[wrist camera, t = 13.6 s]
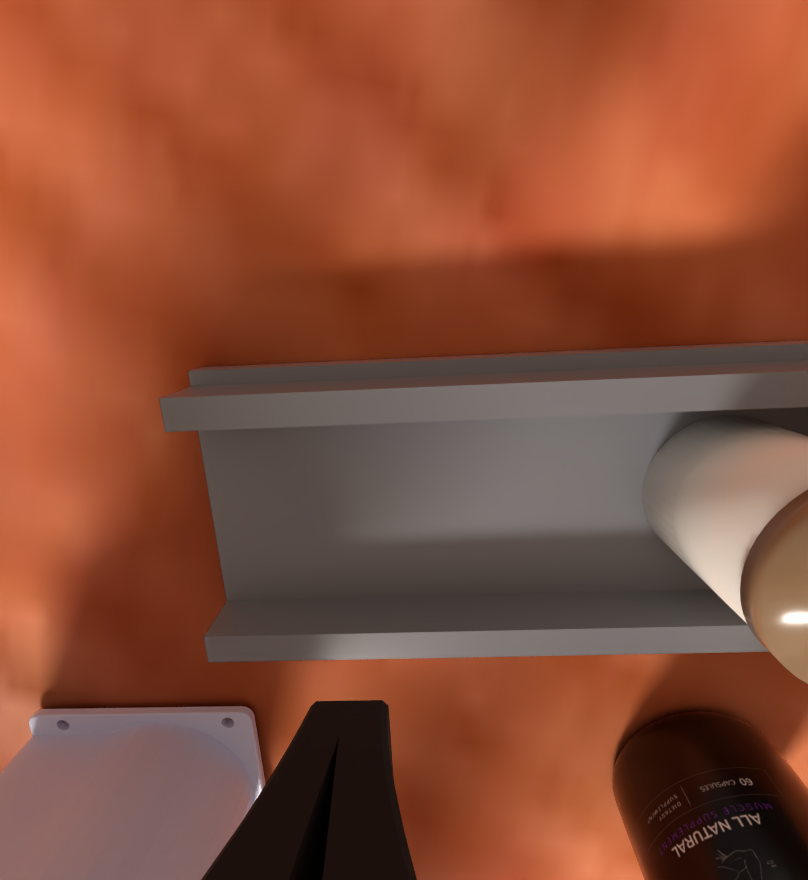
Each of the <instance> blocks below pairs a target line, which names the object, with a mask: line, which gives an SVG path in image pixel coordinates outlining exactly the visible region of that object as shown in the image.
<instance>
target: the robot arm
mask: <svg viewBox="0 0 808 880" xmlns="http://www.w3.org/2000/svg"><path fill="white" fill-rule="evenodd" d="M228 718H230V719H232V720H229V719H228ZM29 726H30V729H31V732H32V735H33V737H32V738H31V739H30V740H29V741H28V742H27V744H26V745H25V746H24V747H23V748H22V749H21V750H20V751H19V753H18V754H17V755H16V756H15V757H14V758H13V759H12V760H11V762H10V763H9V764H8V765H7V766H6V767H5V768H4V769H3V771H2V772H1V773H0V880H417V879H416V875H415V871H414V867H413V864H412V860H411V856H410V853H409V849H408V845H407V841H406V837H405V833H404V828H403V824H402V819H401V814H400V810H399V805H398V800H397V796H396V791H395V786H394V780H393V765H392V751H391V736H390V722H389V707H388V705H387V704H386V703H385V702H383V701H382V700H372V701H316V702H315V703H314V704H313V705H312V706H311V707H310V709H309V711H308V713H307V715H306V717H305V718H304V720H303V722H302V724H301V726H300V728H299V729H298V731H297V733H296V735H295V736H294V738H293V740H292V742H291V743H290V745H289V747H288V749H287V750H286V752H285V754H284V755H283V757H282V759H281V760H280V762H279V764H278V765H277V767H276V769H275V770H274V772H273V774H272V775H271V777H270V778H269V780H268V781H267V783H266V784H265V778H264V771H263V765H262V759H261V753H260V747H259V740H258V734H257V728H256V722H255V716H254V713H253V711H252V710H251V709H250V708H247V707H245V706H212V707H145V708H78V709H41V710H38V711H37V712H35V713H34V715H33V716H32V717H31V718H30V720H29Z"/></svg>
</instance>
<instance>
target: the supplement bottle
mask: <svg viewBox="0 0 808 880" xmlns="http://www.w3.org/2000/svg"><path fill="white" fill-rule="evenodd" d="M613 792H614V796H615V800H616V803H617V806H618V809H619V811H620V814H621V817H622V820H623V823H624V826H625V828H626V831H627V834H628V836H629V839H630V842H631V844H632V847H633V850H634V852H635V855H636V858H637V860H638V863H639V866H640V868H641V871H642V874H643V876H644V879H645V880H808V788H807V787H806V786H805V784H804V783H803V782H802V781H801V779H800V778H799V777H798V775H797V774H796V773H795V772H794V770H793V769H792V768H791V766H790V765H789V764H788V763H787V762H786V760H785V759H784V758H783V757H782V755H781V754H780V753H779V751H778V750H777V749H776V748H775V747H774V745H773V744H772V743H771V742H770V741H769V740H768V739H767V738H766V737H765V736H764V735H763V734H762V733H761V732H760V731H758V730H757V729H755V728H754V727H753V726H751V725H749V724H747V723H746V722H744V721H741V720H739V719H737V718H734V717H731V716H728V715H724V714H720V713H714V712H685V713H679V714H674V715H670V716H667V717H664V718H662V719H659V720H657V721H655V722H653V723H651V724H649V725H647V726H646V727H644V728H643V729H641V730H640V731H638V732H637V733H636V734H635V735H634V736H633V737H632V738H631V739H630V740H629V741H628V742H627V743H626V745H625V746H624V747H623V749H622V750H621V752H620V754H619V756H618V758H617V760H616V763H615V767H614V771H613Z"/></svg>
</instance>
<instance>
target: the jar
mask: <svg viewBox="0 0 808 880" xmlns="http://www.w3.org/2000/svg"><path fill="white" fill-rule="evenodd" d="M642 506H643V510H644V514H645V517H646V519H647V522H648V524H649V525H650V527H651V528H652V530H653V531H654V532H655V533H656V535H657V536H658V537H659V538H660V539H661V540H662V541H663V542H664V543H665V544H666V545H667V546H668V547H669V548H670V549H671V550H672V551H673V552H674V553H675V554H676V555H678V556H679V557H680V558H681V559H682V560H683V561H684V562H685V563H686V564H687V565H688V566H689V567H690V568H691V569H692V570H693V571H694V572H695V573H696V574H697V575H698V576H699V577H700V578H701V579H702V580H703V581H704V582H705V583H706V584H707V585H708V586H709V587H710V588H711V589H712V590H713V591H714V592H715V593H716V594H717V595H718V596H719V597H720V598H721V599H722V600H723V601H724V602H725V603H726V604H727V605H728V606H729V607H730V608H731V609H732V610H733V611H735V612H736V613H737V614H738V615H739V616H740V617H741V618H742V619H743V620H744V621H745V622H746V623H747V625H748V626H749V628H750V630H751V631H752V633H753V635H754V636H755V637H756V638H757V639H758V641H759V642H760V643H761V644H762V645H763V646H764V647H765V648H766V649H767V650H768V651H769V652H770V653H771V654H772V655H773V656H774V657H775V658H776V659H777V660H778V661H779V662H780V663H781V664H782V665H783V666H784V667H785V668H786V669H787V670H788V671H790V672H791V673H792V674H793V675H794V676H795V677H797V678H799V679H800V680H802V681H803V682H805V683H807V684H808V436H805V435H802V434H799V433H796V432H794V431H791V430H788V429H785V428H782V427H779V426H776V425H773V424H770V423H768V422H765V421H762V420H759V419H756V418H753V417H749V416H743V415H719V416H714V417H709V418H706V419H703V420H700V421H697V422H695V423H693V424H691V425H688V426H687V427H685V428H683V429H682V430H680V431H679V432H677V433H676V434H675V435H673V436H672V437H671V438H670V439H669V440H668V441H667V442H666V443H665V444H664V445H663V446H662V447H661V448H660V449H659V451H658V452H657V453H656V454H655V456H654V458H653V459H652V461H651V462H650V465H649V467H648V469H647V471H646V474H645V477H644V480H643V486H642Z"/></svg>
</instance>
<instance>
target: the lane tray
mask: <svg viewBox="0 0 808 880" xmlns="http://www.w3.org/2000/svg"><path fill="white" fill-rule="evenodd" d="M188 374H189V380H190V386H191V387H188V388H185V389H183V390H180V391H177V392H174V393H172V394H169V395H166V396H164V397H161V398H159V401H160V406H161V412H162V417H163V422H164V428H165V432H179V431H198V434H199V439H200V445H201V451H202V457H203V463H204V469H205V475H206V481H207V487H208V493H209V499H210V505H211V511H212V517H213V523H214V529H215V535H216V541H217V547H218V553H219V559H220V565H221V570H222V576H223V582H224V588H225V594H226V600H227V601H226V603H225V604H224V606H223V607H222V609H221V611H220V612H219V614H218V615H217V617H216V618H215V620H214V621H213V623H212V625H211V626H210V628H209V629H208V631H207V632H206V634H205V635H204V642H205V647H206V652H207V658H208V662H247V661H301V660H354V659H407V658H460V657H513V656H566V655H619V654H672V653H725V652H769V651H768V650H767V649H766V648H765V647H764V646H763V645H762V644H761V643H760V642H759V641H758V639H757V638H756V637H755V636H754V635H753V633H752V631H751V630H750V628H749V626H748V625H747V623H746V622H745V621H744V620H743V619H742V618H741V617H740V616H739V615H738V614H737V613H736V612H735V611H733V610H732V609H731V608H730V607H729V606H728V605H727V604H726V603H725V602H724V601H723V600H722V599H721V598H720V597H719V596H718V595H717V594H716V593H715V592H714V591H713V590H712V589H711V588H710V587H709V586H708V585H707V584H706V583H705V582H704V581H703V580H702V579H701V578H700V577H699V576H698V575H697V574H696V573H695V572H694V571H693V570H692V569H691V568H690V567H689V566H688V565H687V564H686V563H685V562H684V561H683V560H682V559H681V558H680V557H679V556H678V555H676V554H675V553H674V552H673V551H672V550H671V549H670V548H669V547H668V546H667V545H666V544H665V543H664V542H663V541H662V540H661V539H660V538H659V537H658V536H657V535H656V533H655V532H654V531H653V530H652V528H651V527H650V525H649V524H648V522H647V519H646V517H645V514H644V510H643V506H642V486H643V480H644V477H645V474H646V471H647V469H648V467H649V465H650V462H651V461H652V459H653V458H654V456H655V454H656V453H657V452H658V451H659V449H660V448H661V447H662V446H663V445H664V444H665V443H666V442H667V441H668V440H669V439H670V438H671V437H672V436H673V435H675V434H676V433H677V432H679V431H680V430H682V429H683V428H685V427H687V426H688V425H691V424H693V423H695V422H697V421H700V420H703V419H706V418H709V417H714V416H719V415H743V416H749V417H753V418H756V419H759V420H762V421H765V422H768V423H770V424H773V425H776V426H779V427H782V428H785V429H788V430H791V431H794V432H796V433H799V434H802V435H805V436H808V340H798V341H775V342H753V343H730V344H708V345H686V346H663V347H641V348H618V349H596V350H574V351H551V352H529V353H507V354H484V355H462V356H439V357H417V358H395V359H372V360H350V361H327V362H305V363H283V364H260V365H238V366H216V367H200V368H197V369H193V370H190V371H188Z"/></svg>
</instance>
